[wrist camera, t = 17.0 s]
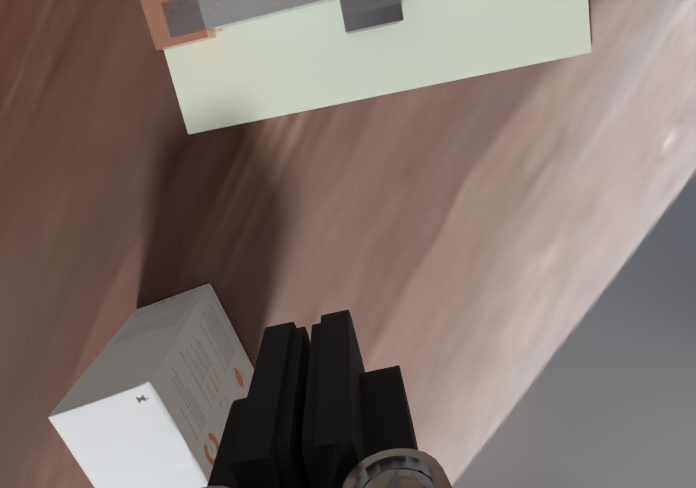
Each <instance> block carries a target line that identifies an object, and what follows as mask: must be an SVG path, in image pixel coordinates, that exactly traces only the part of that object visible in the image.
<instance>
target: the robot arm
mask: <svg viewBox="0 0 696 488" xmlns="http://www.w3.org/2000/svg"><path fill="white" fill-rule="evenodd" d="M203 488H452V486H451V484H450V482H449V480H448V478H447V476H446V474H445V472H444V470H443V468H442V467H441V465H440V464H439V463H438V461H437V460H436V459H435V458H433V457H432V456H430V455H428V454H427V453H425V452H422V451H418V447H417V442H416V437H415V433H414V428H413V423H412V419H411V414H410V410H409V405H408V401H407V396H406V392H405V388H404V383H403V379H402V375H401V371H400V367H399V366H394V367H389V368H384V369H380V370H375V371H370V372H365V370H364V366H363V362H362V358H361V354H360V350H359V346H358V342H357V338H356V334H355V330H354V326H353V322H352V319H351V315H350V312H349V310H345V311H340V312H335V313H331V314H326V315H322V316H321V323H319V324H314V325H312V332H311V343H310V340H309V336H308V333H307V330H306V328H305V327H300V328H296V326H295V324H294V322H289V323H285V324H280V325H276V326H271V327H266V328H265V330H264V334H263V338H262V342H261V346H260V350H259V354H258V358H257V361H256V365H255V369H254V373H253V377H252V381H251V385H250V389H249V392H248V396H247V398H242V399H237V400H235V401H233V403H232V405H231V408H230V411H229V414H228V418H227V421H226V424H225V428H224V431H223V435H222V438H221V441H220V445H219V448H218V451H217V455H216V458H215V462H214V465H213V468H212V472H211V475H210V478H209V482H208V485H207V487H203Z"/></svg>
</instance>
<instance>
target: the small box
mask: <svg viewBox="0 0 696 488" xmlns="http://www.w3.org/2000/svg"><path fill="white" fill-rule="evenodd" d="M253 373H254V368H253V366H252V364H251V362H250V360H249V358H248V356H247V354H246V352H245V350H244V348H243V346H242V344H241V343H240V341H239V339H238V337H237V335H236V333H235V331H234V329H233V327H232V325H231V323H230V321H229V319H228V317H227V315H226V313H225V311H224V309H223V307H222V305H221V303H220V301H219V299H218V297H217V295H216V294H215V292H214V290H213V288H212V286H211V284H210V283H208V284H205V285H203V286H200V287H197V288H194V289H192V290H189V291H186V292H183V293H181V294H178V295H175V296H173V297H170V298H167V299H164V300H162V301H159V302H156V303H153V304H151V305H148V306H145V307H142V308H139V309H137V310H135V311H134V312H133V313H132V314H131V316H130V317H129V318H128V319H127V321H126V322H125V323H124V324H123V325H122V327H121V328H120V329H119V330H118V331H117V333H116V334H115V335H114V336H113V337H112V339H111V340H110V341H109V342H108V344H107V345H106V346H105V347H104V348H103V350H102V351H101V352H100V354H99V355H98V356H97V357H96V358H95V360H94V361H93V362H92V364H91V365H90V366H89V367H88V368H87V369H86V371H85V372H84V373H83V374H82V376H81V377H80V378H79V379H78V381H77V382H76V383H75V384H74V386H73V387H72V388H71V389H70V390H69V392H68V393H67V394H66V395H65V397H64V398H63V399H62V400H61V402H60V403H59V404H58V405H57V407H56V408H55V409H54V410H53V412H52V413H51V414H50V415H49V416H48V418H49V420H50V422H51V423H52V424H53V426H54V427H55V429H56V430H57V432H58V433H59V435H60V437H61V438H62V440H63V441H64V443H65V444H66V446H67V447H68V449H69V450H70V452H71V453H72V455H73V456H74V458H75V459H76V461H77V462H78V464H79V465H80V467H81V468H82V470H83V471H84V473H85V474H86V476H87V477H88V479H89V480H90V482H91V483H92V485H93V486H94V488H203V487H207V485H208V482H209V478H210V475H211V472H212V468H213V465H214V462H215V458H216V455H217V451H218V448H219V445H220V441H221V438H222V435H223V431H224V428H225V424H226V421H227V418H228V414H229V411H230V408H231V405H232V403H233V401H235V400H237V399H242V398H246V396H247V392H248V389H249V386H250V383H251V380H252V377H253Z"/></svg>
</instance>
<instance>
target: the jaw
mask: <svg viewBox="0 0 696 488" xmlns="http://www.w3.org/2000/svg"><path fill="white" fill-rule="evenodd" d="M140 1H141V4H142V7H143V10H144V13H145V17H146V20H147V23H148V26H149V29H150V32H151V35H152V38H153V42H154V45H155V48H156V50H168V49H172V48H176V47H180V46H184V45H188V44H192V43H196V42H200V41H204V40H208V39H212V38H216V37H217V36H216V33H215V30H218V29H222V28H226V27H230V26H234V25H238V24H242V23H246V22H250V21H254V20H258V19H262V18H266V17H270V16H274V15H278V14H282V13H286V12H290V11H294V10H298V9H302V8H306V7H310V6H314V5H318V4H322V3H326V2H330V1H334V0H140Z"/></svg>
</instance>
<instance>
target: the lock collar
mask: <svg viewBox="0 0 696 488" xmlns="http://www.w3.org/2000/svg"><path fill="white" fill-rule="evenodd" d="M340 4H341V10H342V15H343V20H344V25H345V31H346V33H347V34H350V33H355V32H360V31H364V30H369V29H374V28H378V27H383V26H388V25H392V24H397V23H398V22H400V21H402V20H404V18H403V12H402V6H401V0H340Z"/></svg>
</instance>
